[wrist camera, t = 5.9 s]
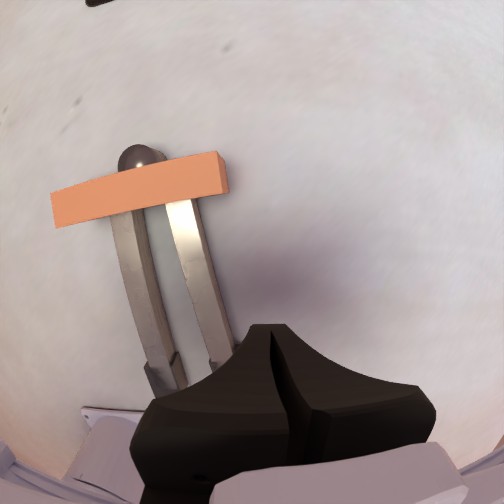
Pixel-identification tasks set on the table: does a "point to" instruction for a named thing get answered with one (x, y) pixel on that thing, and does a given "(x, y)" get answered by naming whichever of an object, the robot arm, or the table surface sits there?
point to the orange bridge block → (141, 188)
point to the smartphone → (95, 2)
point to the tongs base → (146, 286)
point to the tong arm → (201, 280)
